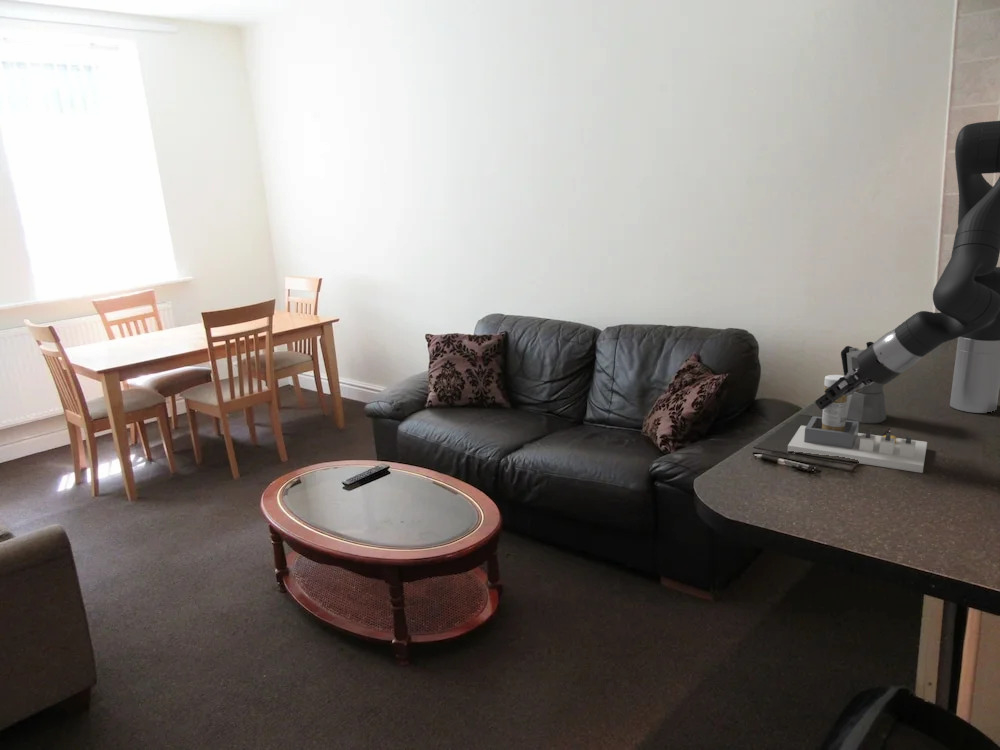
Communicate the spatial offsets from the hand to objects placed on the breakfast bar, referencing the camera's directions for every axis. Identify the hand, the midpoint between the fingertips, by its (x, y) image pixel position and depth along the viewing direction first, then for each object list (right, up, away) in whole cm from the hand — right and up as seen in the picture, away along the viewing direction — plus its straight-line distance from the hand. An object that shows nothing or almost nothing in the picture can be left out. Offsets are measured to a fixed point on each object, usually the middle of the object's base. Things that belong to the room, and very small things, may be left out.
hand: (825, 402), depth 146 cm
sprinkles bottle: (+1, -8, 0) cm, 8 cm away
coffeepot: (+16, -4, +18) cm, 25 cm away
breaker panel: (+5, -10, -3) cm, 11 cm away
